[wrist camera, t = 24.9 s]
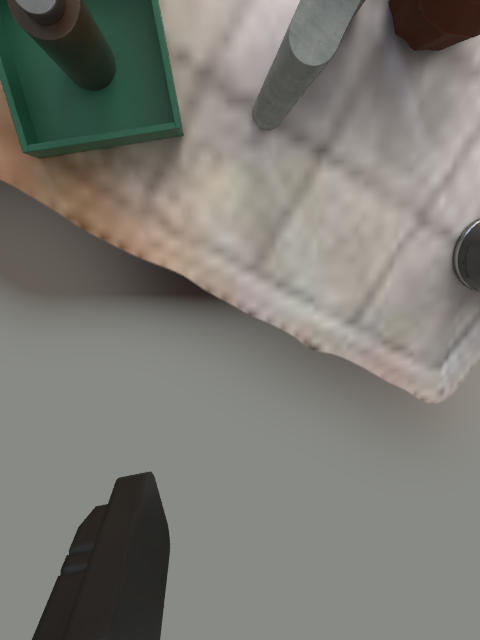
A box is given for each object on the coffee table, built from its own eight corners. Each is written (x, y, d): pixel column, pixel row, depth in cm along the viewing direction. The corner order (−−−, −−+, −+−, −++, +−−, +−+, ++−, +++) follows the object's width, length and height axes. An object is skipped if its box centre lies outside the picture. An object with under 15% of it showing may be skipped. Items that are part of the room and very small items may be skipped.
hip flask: (269, 136, 40) (330, 61, 21) (239, 110, 39) (273, 7, 20) (365, -1, 37) (537, -235, 18) (335, -33, 36) (483, -314, 17)
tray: (150, -40, 35) (145, -69, 31) (183, 135, 39) (181, 127, 35) (-13, -18, 34) (-38, -44, 30) (39, 158, 38) (22, 152, 35)
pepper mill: (108, 30, 35) (59, -65, 23) (121, 87, 37) (81, 24, 25) (58, 38, 35) (-18, -54, 23) (73, 94, 36) (8, 34, 24)
